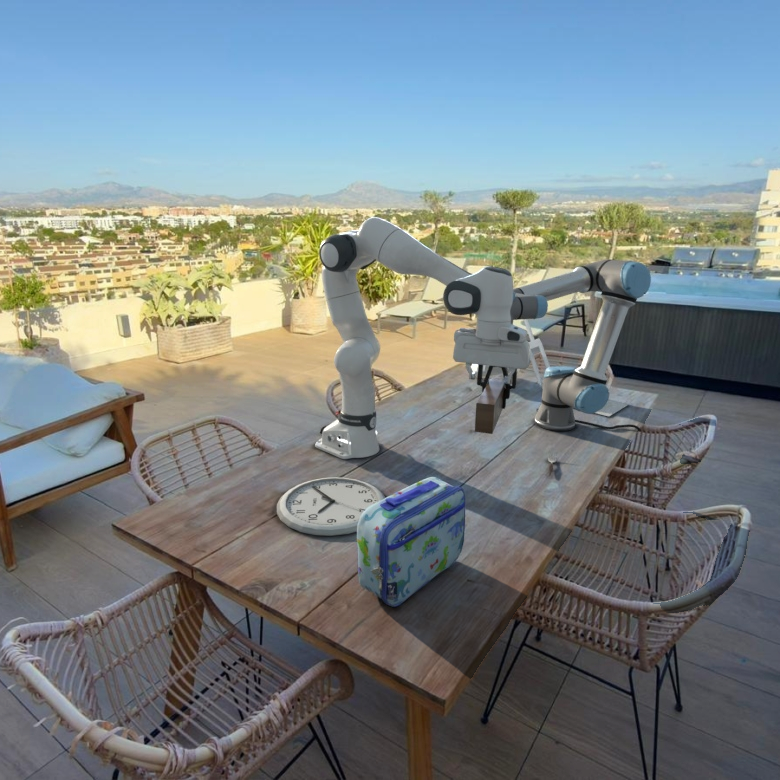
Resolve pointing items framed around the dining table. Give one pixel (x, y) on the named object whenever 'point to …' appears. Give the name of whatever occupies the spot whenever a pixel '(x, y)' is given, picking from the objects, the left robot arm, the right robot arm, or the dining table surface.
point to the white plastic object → (535, 348)
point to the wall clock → (327, 505)
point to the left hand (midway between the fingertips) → (489, 381)
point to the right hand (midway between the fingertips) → (494, 406)
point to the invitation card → (611, 408)
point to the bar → (489, 406)
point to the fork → (551, 462)
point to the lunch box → (410, 539)
